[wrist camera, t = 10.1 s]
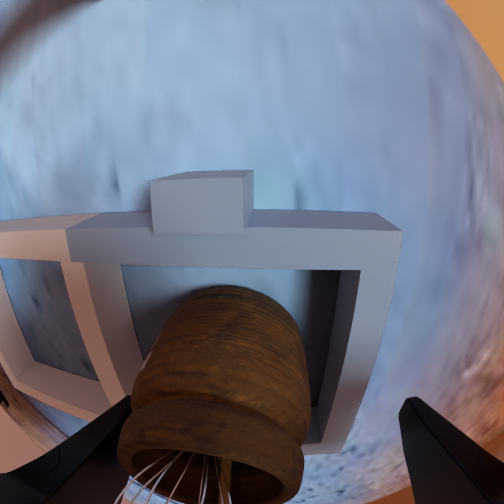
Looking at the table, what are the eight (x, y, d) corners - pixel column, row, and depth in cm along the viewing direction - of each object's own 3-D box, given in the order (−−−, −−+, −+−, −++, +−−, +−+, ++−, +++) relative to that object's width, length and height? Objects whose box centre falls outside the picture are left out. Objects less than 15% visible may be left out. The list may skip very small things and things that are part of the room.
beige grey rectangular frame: (330, 431, 14) (335, 474, 11) (38, 381, 16) (18, 406, 13) (378, 175, 9) (419, 186, 6) (-21, 201, 11) (-57, 215, 8)
